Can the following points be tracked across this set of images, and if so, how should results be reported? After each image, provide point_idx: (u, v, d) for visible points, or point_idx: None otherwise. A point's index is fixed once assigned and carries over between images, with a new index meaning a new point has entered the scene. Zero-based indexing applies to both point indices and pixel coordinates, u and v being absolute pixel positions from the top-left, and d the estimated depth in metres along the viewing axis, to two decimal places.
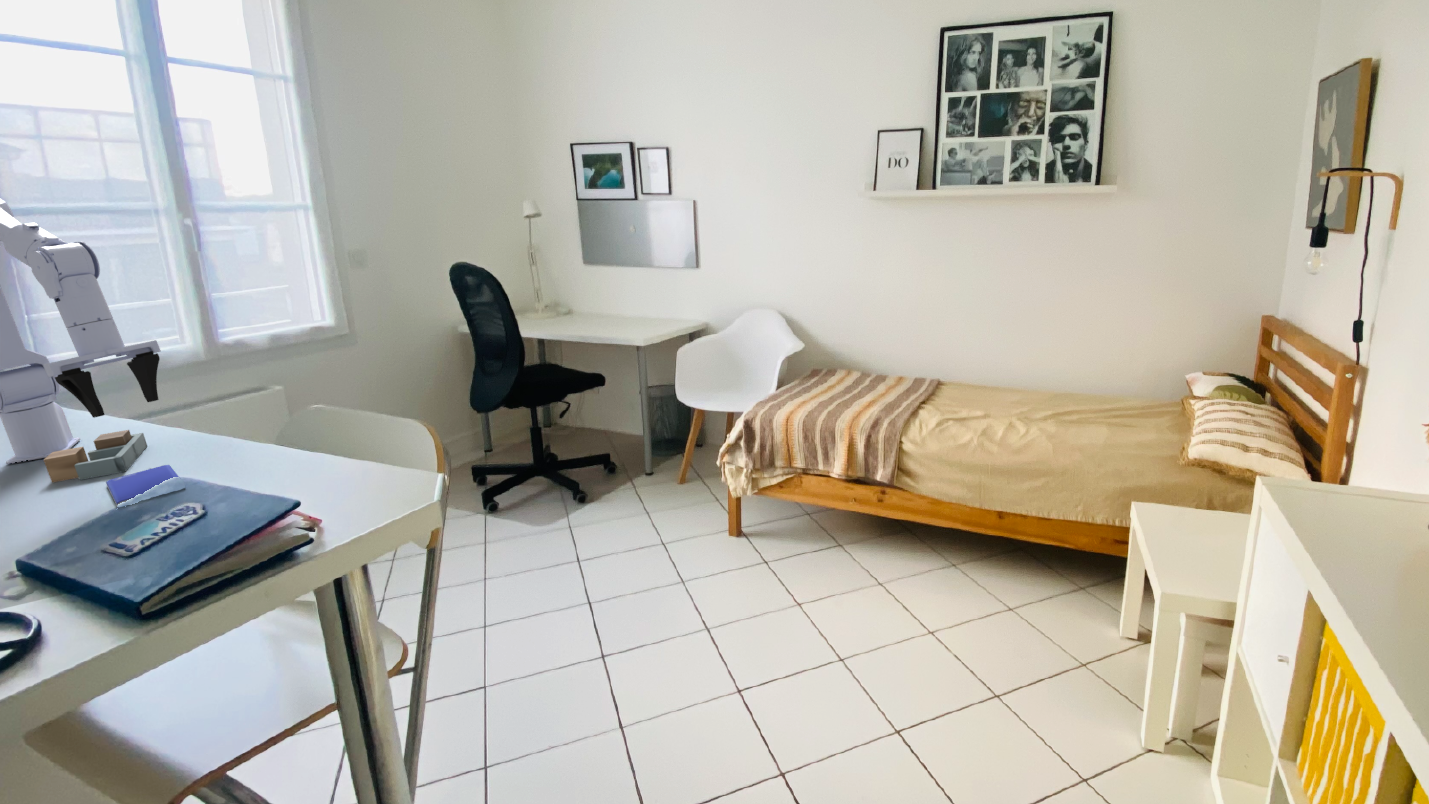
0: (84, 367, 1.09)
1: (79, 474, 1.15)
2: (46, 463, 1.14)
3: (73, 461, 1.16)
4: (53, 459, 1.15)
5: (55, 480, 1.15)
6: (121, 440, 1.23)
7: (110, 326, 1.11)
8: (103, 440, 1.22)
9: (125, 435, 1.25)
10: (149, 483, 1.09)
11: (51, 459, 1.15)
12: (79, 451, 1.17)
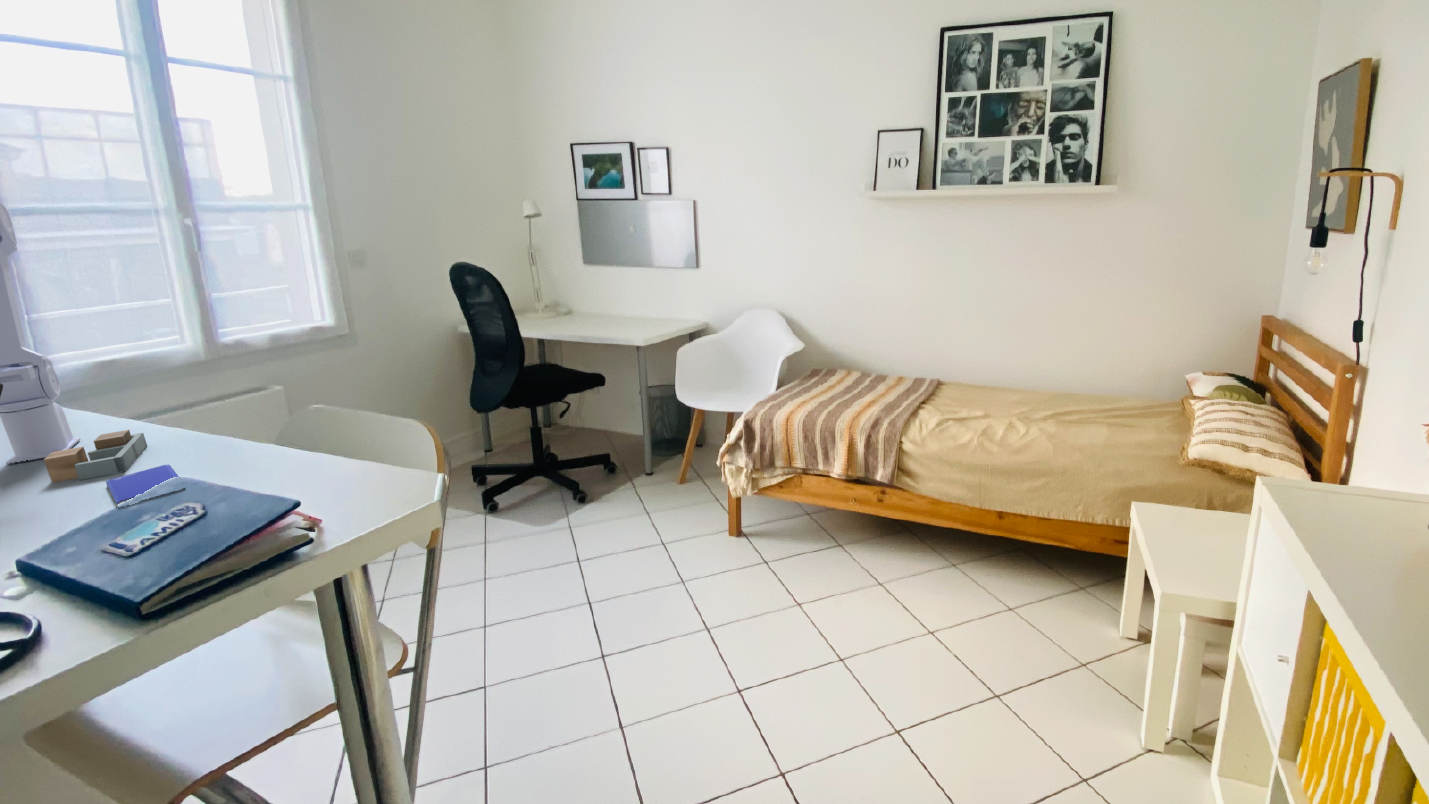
0: None
1: (79, 474, 1.15)
2: (46, 463, 1.14)
3: (73, 461, 1.16)
4: (53, 459, 1.15)
5: (55, 480, 1.15)
6: (121, 440, 1.23)
7: None
8: (103, 440, 1.22)
9: (125, 435, 1.25)
10: (149, 482, 1.09)
11: (51, 459, 1.15)
12: (79, 451, 1.17)
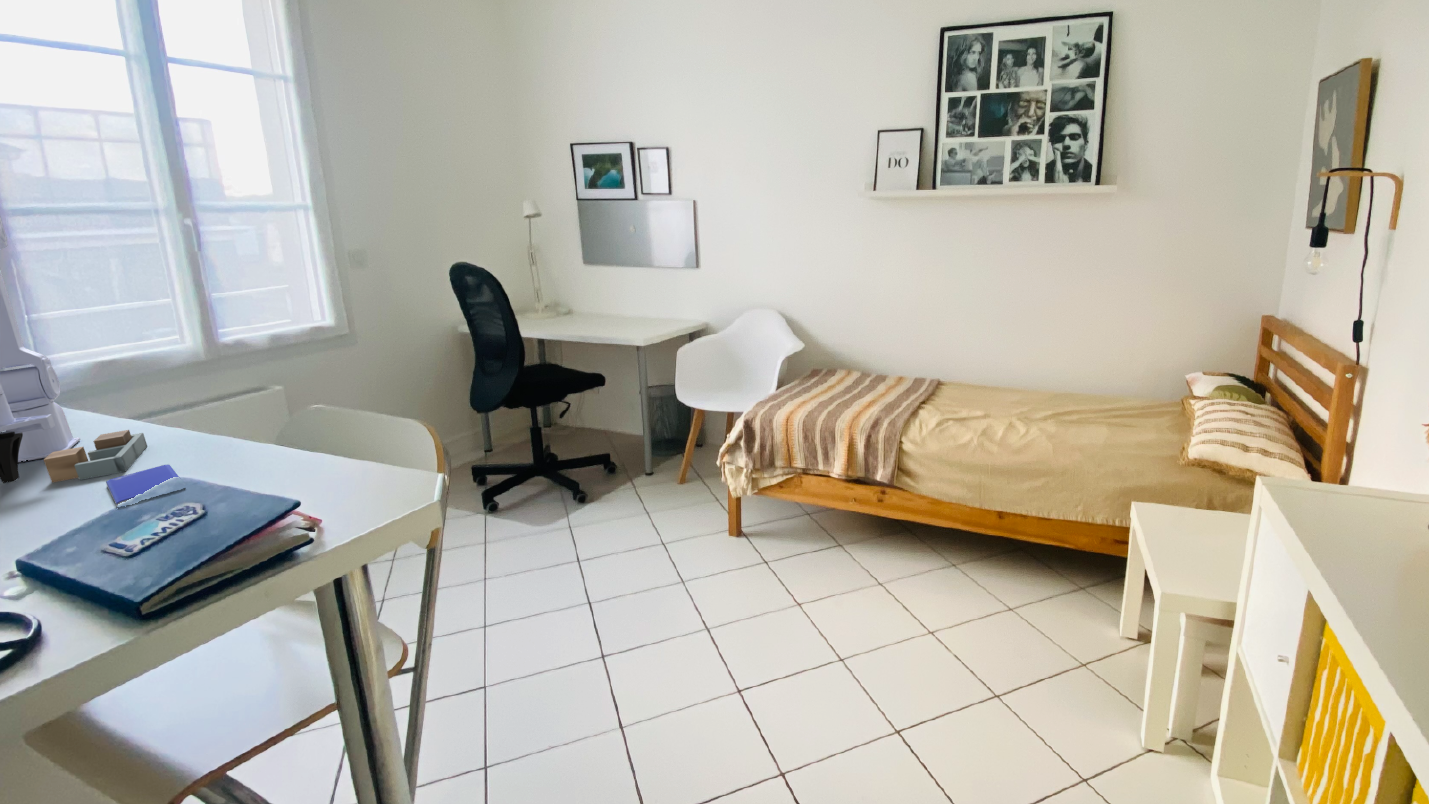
0: None
1: (79, 474, 1.15)
2: (46, 463, 1.14)
3: (73, 461, 1.16)
4: (53, 459, 1.15)
5: (55, 480, 1.15)
6: (121, 440, 1.23)
7: None
8: (103, 440, 1.22)
9: (125, 435, 1.25)
10: (149, 482, 1.09)
11: (51, 459, 1.15)
12: (79, 451, 1.17)
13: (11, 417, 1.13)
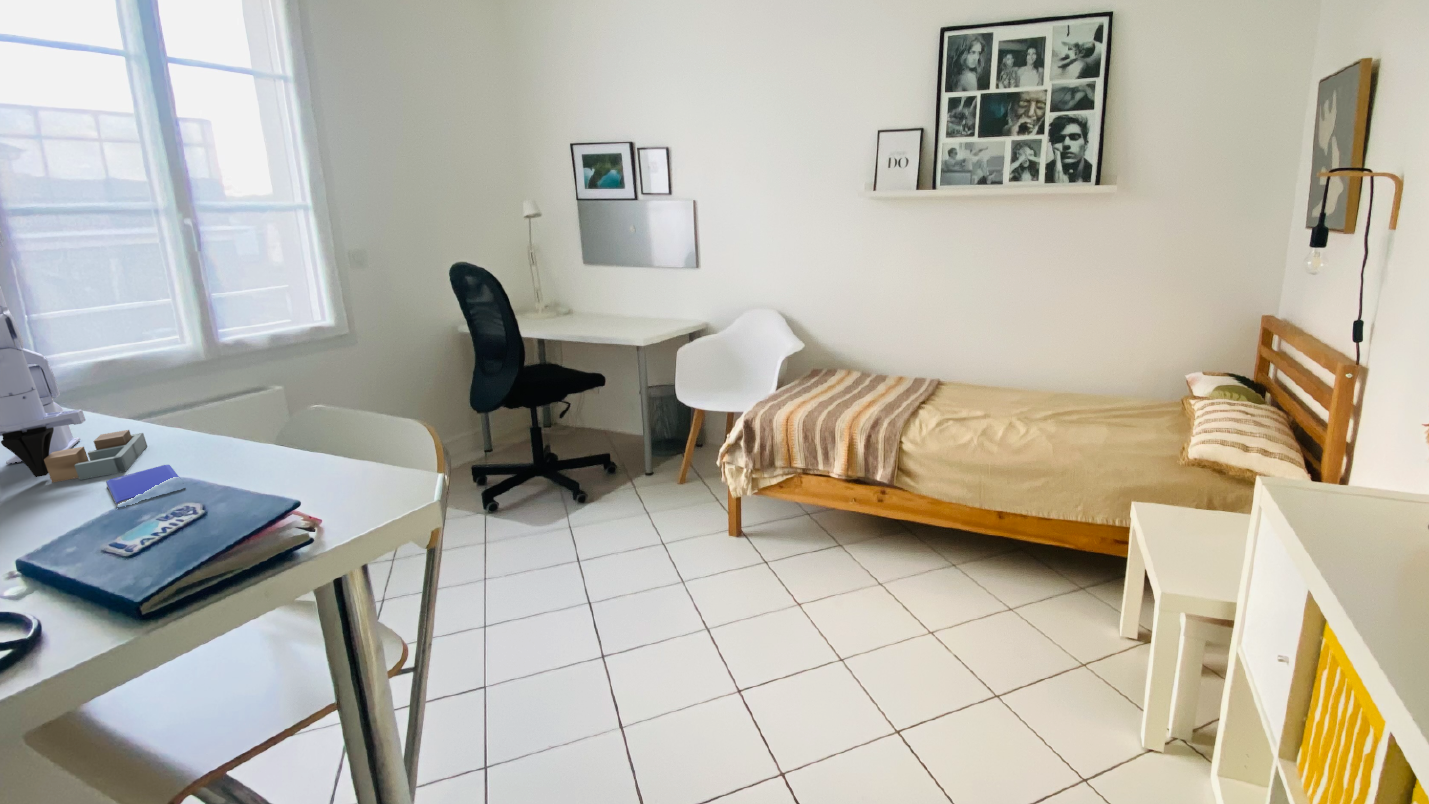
0: None
1: (79, 474, 1.15)
2: (46, 463, 1.14)
3: (73, 461, 1.16)
4: (53, 459, 1.15)
5: (55, 480, 1.15)
6: (121, 440, 1.23)
7: (17, 401, 1.11)
8: (103, 440, 1.22)
9: (125, 435, 1.25)
10: (149, 482, 1.09)
11: (51, 459, 1.15)
12: (79, 451, 1.17)
13: (43, 412, 1.14)
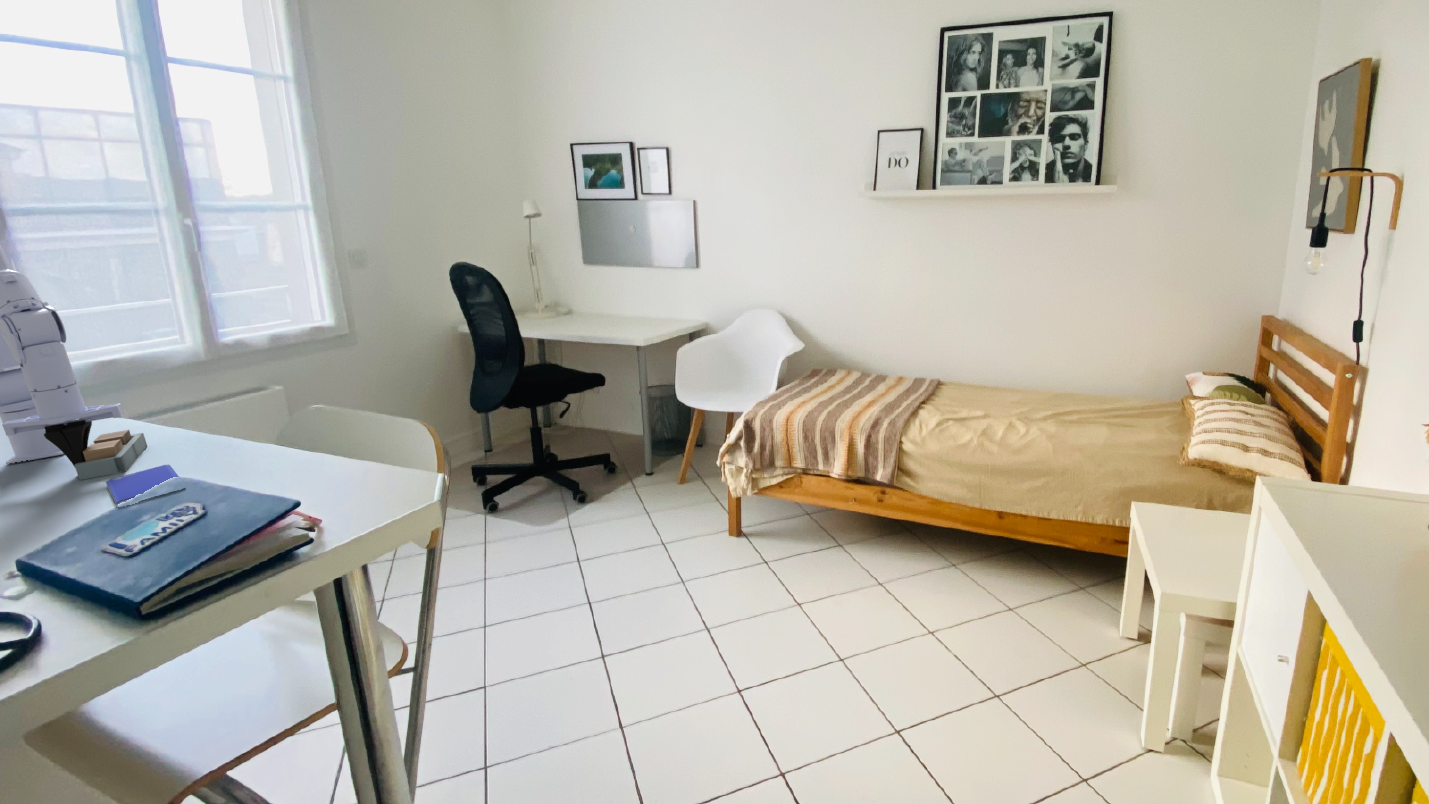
0: (40, 428, 1.14)
1: (79, 474, 1.15)
2: (85, 455, 1.16)
3: (111, 453, 1.18)
4: (92, 451, 1.17)
5: None
6: (121, 440, 1.23)
7: (59, 395, 1.13)
8: (103, 440, 1.22)
9: (125, 435, 1.25)
10: (149, 482, 1.09)
11: (90, 451, 1.16)
12: (117, 444, 1.19)
13: (83, 405, 1.16)
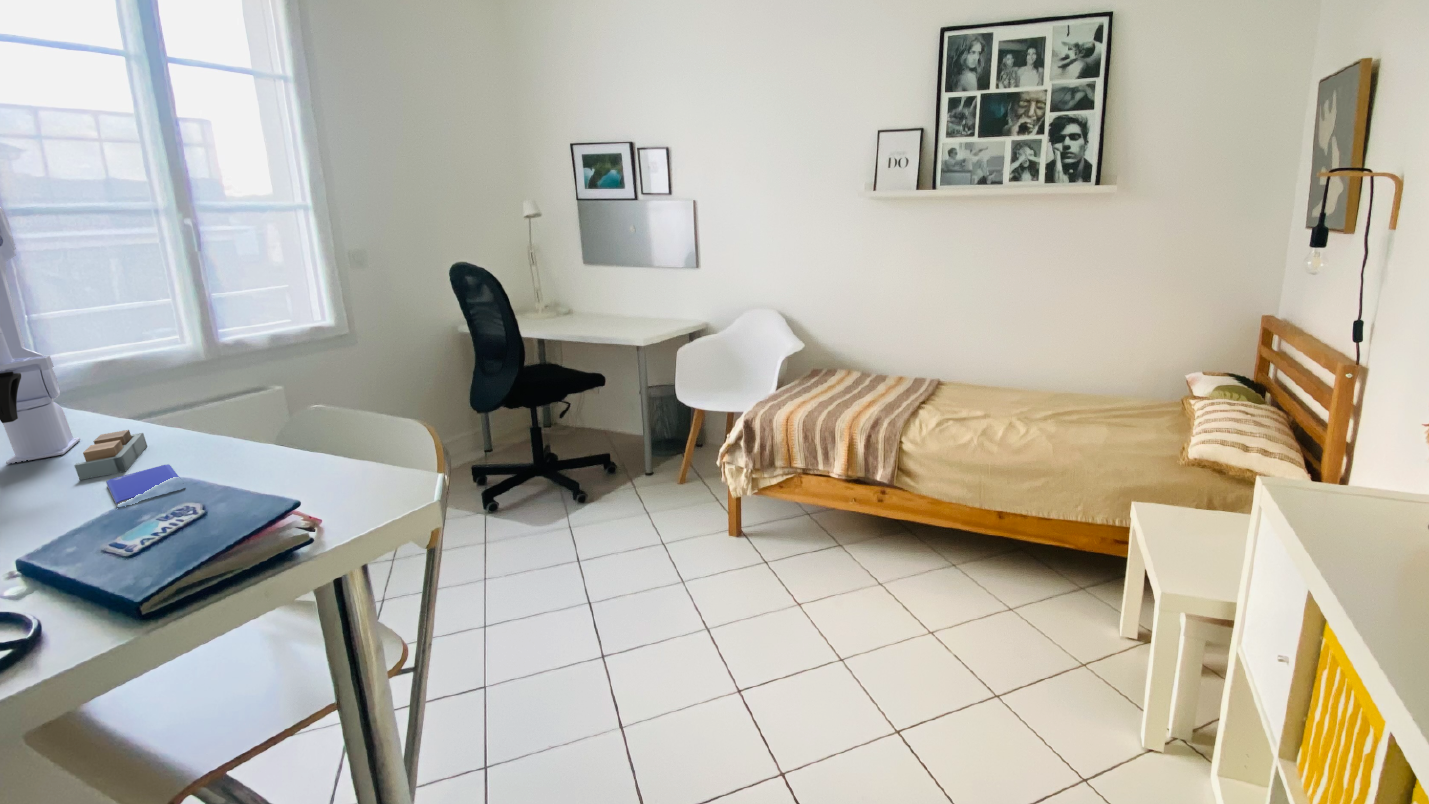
0: None
1: (79, 474, 1.15)
2: (85, 456, 1.16)
3: (111, 454, 1.18)
4: (92, 452, 1.17)
5: None
6: (121, 440, 1.23)
7: None
8: (103, 440, 1.22)
9: (125, 435, 1.25)
10: (149, 482, 1.09)
11: (90, 452, 1.17)
12: (117, 444, 1.19)
13: (10, 357, 1.13)
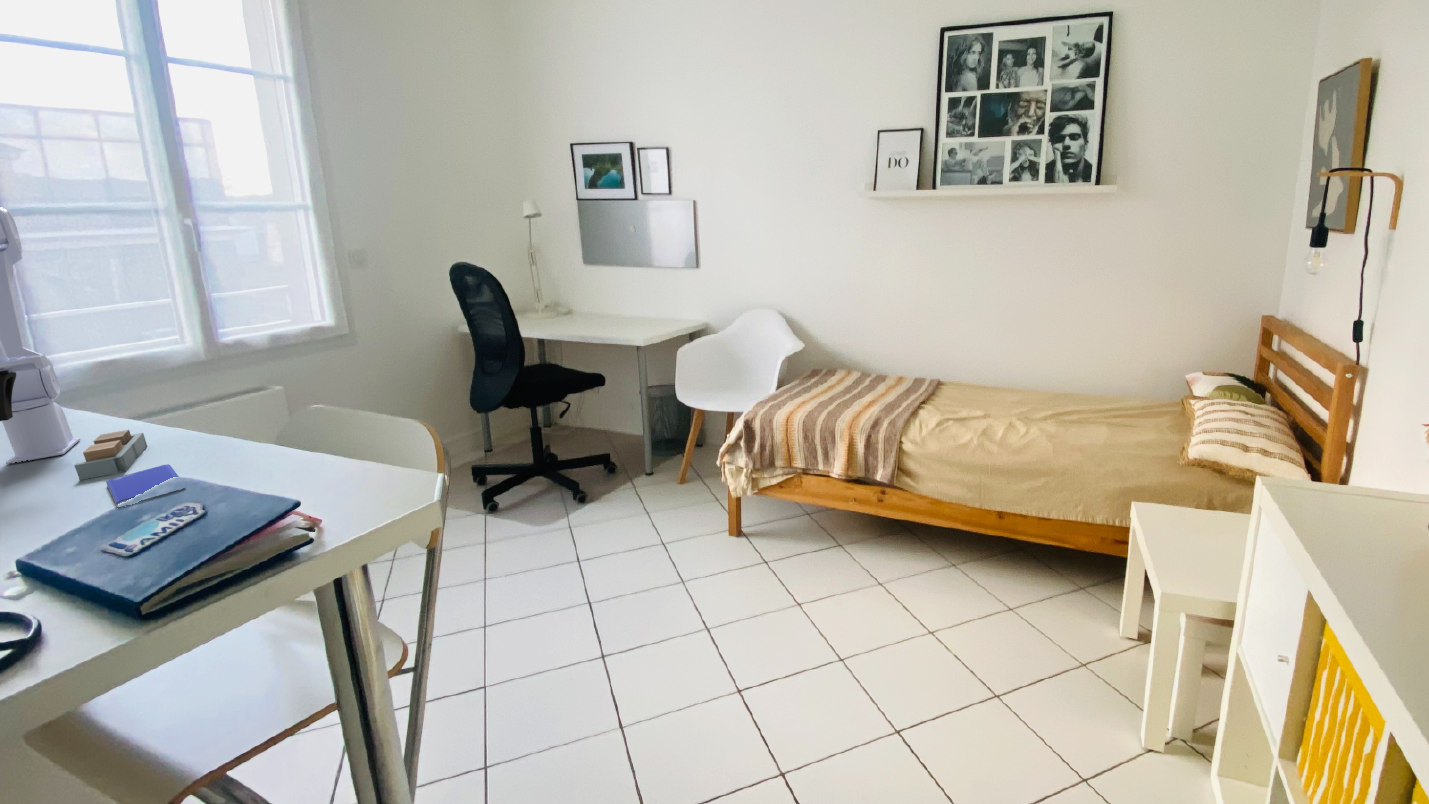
0: None
1: (79, 474, 1.15)
2: (85, 456, 1.16)
3: (111, 454, 1.18)
4: (92, 452, 1.17)
5: None
6: (121, 440, 1.23)
7: None
8: (103, 440, 1.22)
9: (125, 435, 1.25)
10: (149, 482, 1.09)
11: (90, 452, 1.17)
12: (117, 444, 1.19)
13: (5, 356, 1.14)
